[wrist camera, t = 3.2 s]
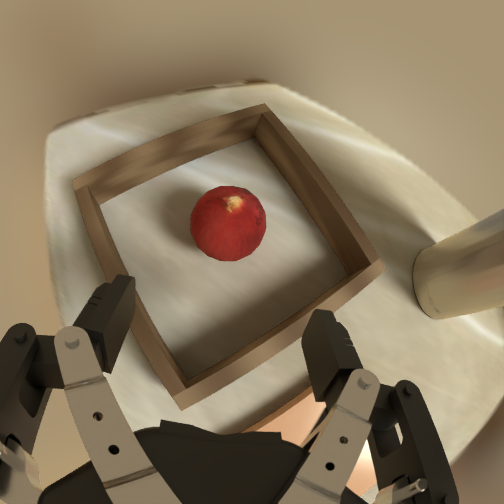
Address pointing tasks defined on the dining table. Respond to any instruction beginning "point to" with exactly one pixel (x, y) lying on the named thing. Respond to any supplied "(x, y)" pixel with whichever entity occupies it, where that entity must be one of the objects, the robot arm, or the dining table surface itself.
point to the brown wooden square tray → (303, 184)
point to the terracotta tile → (299, 425)
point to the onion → (228, 223)
